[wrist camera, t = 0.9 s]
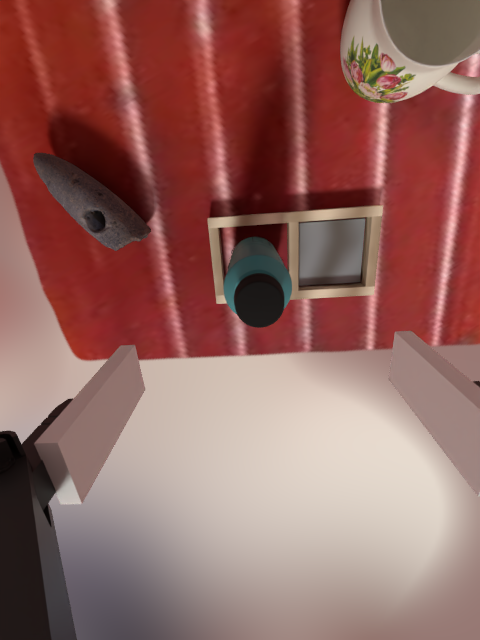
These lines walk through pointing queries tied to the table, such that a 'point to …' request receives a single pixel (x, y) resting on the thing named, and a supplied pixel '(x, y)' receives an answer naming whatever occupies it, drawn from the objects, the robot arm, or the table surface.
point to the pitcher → (409, 47)
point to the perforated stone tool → (90, 203)
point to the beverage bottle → (257, 282)
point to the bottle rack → (316, 249)
